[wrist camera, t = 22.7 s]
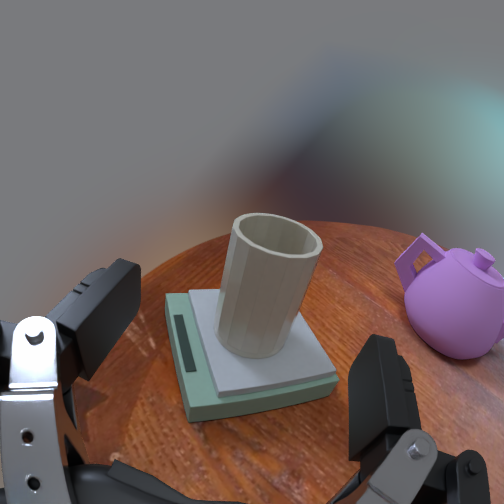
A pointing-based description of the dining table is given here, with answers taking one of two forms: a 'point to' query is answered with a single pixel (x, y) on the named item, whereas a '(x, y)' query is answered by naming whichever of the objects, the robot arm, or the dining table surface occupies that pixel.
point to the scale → (240, 364)
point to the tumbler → (264, 283)
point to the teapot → (453, 299)
